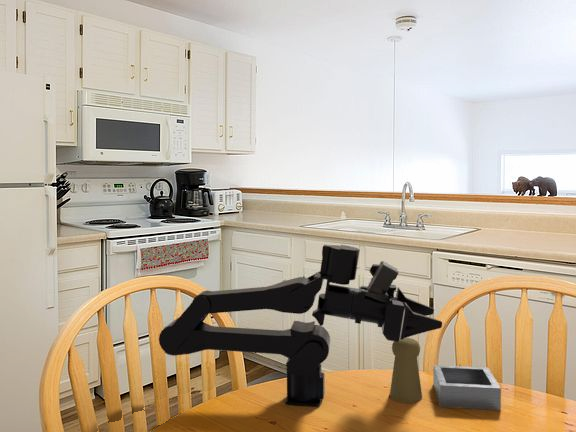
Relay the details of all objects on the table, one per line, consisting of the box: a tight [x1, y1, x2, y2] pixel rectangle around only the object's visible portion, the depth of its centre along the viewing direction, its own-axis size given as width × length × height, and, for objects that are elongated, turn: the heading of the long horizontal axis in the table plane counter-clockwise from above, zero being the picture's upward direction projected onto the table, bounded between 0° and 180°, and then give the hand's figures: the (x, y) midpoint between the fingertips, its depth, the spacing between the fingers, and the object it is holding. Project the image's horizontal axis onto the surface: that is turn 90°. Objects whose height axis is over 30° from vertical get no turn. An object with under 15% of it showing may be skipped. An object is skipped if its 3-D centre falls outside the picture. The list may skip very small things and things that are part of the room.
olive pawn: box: [389, 337, 423, 403], centre depth 98 cm, size 6×6×11 cm
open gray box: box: [433, 364, 502, 411], centre depth 97 cm, size 10×10×4 cm
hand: (437, 317), depth 93 cm, fingers open, 9 cm apart
